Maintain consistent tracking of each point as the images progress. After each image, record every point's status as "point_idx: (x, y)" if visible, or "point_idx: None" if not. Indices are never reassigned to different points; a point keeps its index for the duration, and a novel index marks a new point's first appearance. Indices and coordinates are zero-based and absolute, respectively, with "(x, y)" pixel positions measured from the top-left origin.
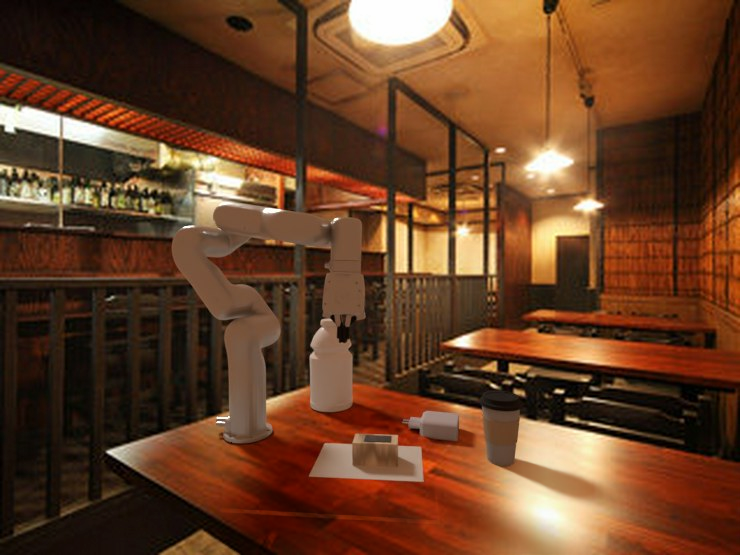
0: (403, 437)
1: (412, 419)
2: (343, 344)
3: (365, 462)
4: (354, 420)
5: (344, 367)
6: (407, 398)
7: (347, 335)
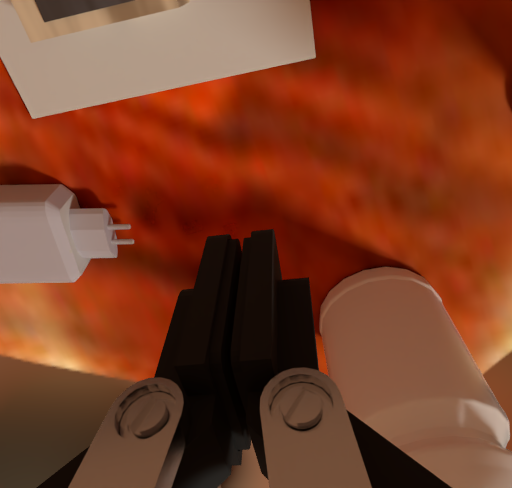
0: (114, 174)
1: (98, 235)
2: None
3: None
4: (283, 240)
5: (354, 393)
6: None
7: (186, 307)
